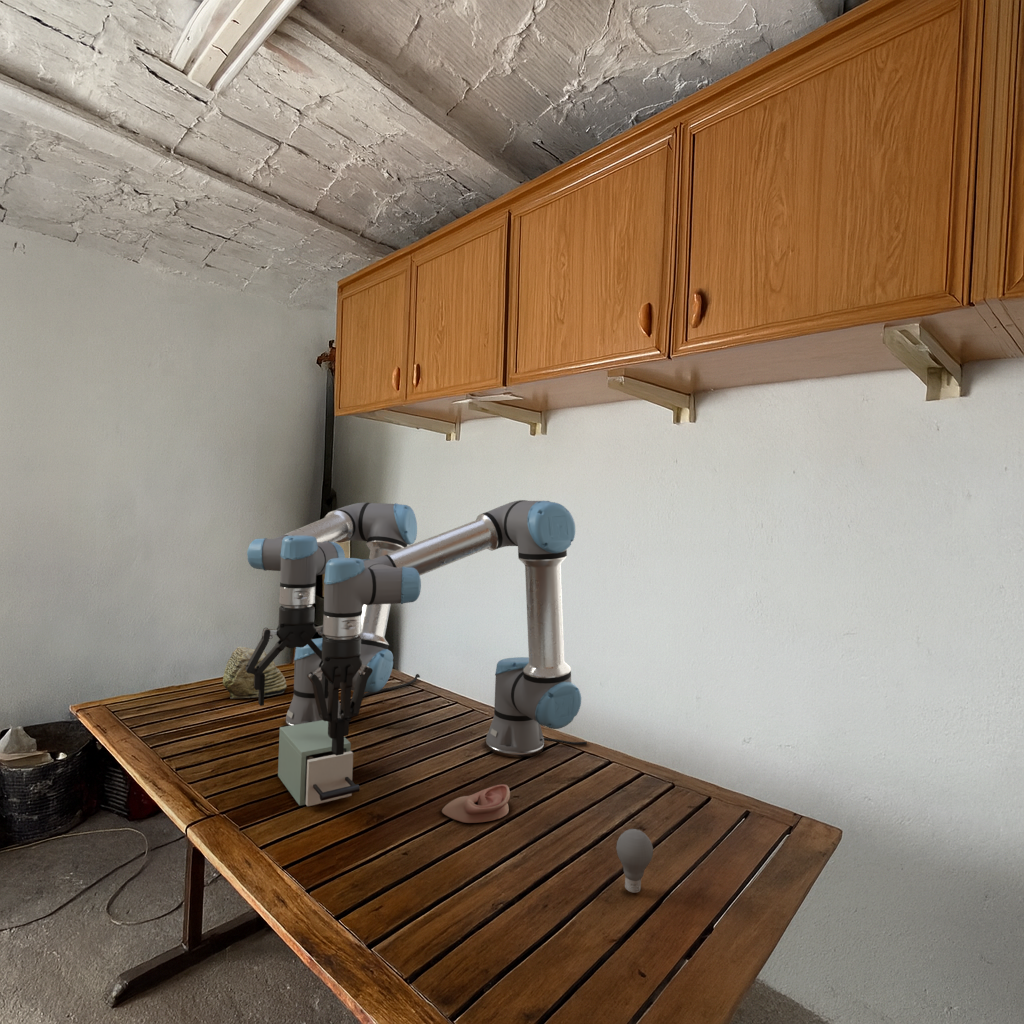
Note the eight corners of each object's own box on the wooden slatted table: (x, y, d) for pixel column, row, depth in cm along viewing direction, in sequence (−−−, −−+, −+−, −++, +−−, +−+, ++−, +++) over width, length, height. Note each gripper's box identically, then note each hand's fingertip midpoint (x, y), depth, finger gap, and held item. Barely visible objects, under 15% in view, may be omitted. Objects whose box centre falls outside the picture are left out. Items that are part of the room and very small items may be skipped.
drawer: (362, 807, 128) (364, 763, 128) (317, 819, 122) (318, 773, 122) (327, 769, 145) (329, 730, 145) (286, 778, 139) (287, 737, 139)
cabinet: (348, 794, 136) (350, 742, 135) (299, 806, 129) (301, 752, 129) (323, 766, 149) (325, 719, 148) (277, 776, 143) (279, 727, 142)
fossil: (218, 695, 195) (220, 647, 195) (278, 685, 208) (279, 640, 207) (228, 703, 189) (230, 653, 188) (289, 692, 201) (290, 645, 201)
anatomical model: (437, 799, 126) (454, 775, 137) (436, 818, 126) (453, 793, 138) (502, 808, 124) (514, 783, 135) (501, 828, 124) (513, 801, 135)
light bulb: (610, 879, 108) (613, 822, 108) (644, 879, 109) (647, 822, 109) (619, 902, 102) (622, 840, 102) (655, 901, 103) (658, 840, 103)
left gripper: (238, 611, 131) (234, 712, 132) (357, 605, 144) (353, 698, 144) (234, 604, 138) (230, 701, 138) (348, 600, 150) (345, 689, 150)
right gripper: (315, 642, 120) (311, 766, 120) (380, 636, 127) (375, 752, 128) (303, 634, 126) (299, 752, 126) (365, 629, 133) (361, 740, 134)
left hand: (293, 700), depth 141 cm, fingers open, 13 cm apart
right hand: (337, 752), depth 127 cm, fingers closed
